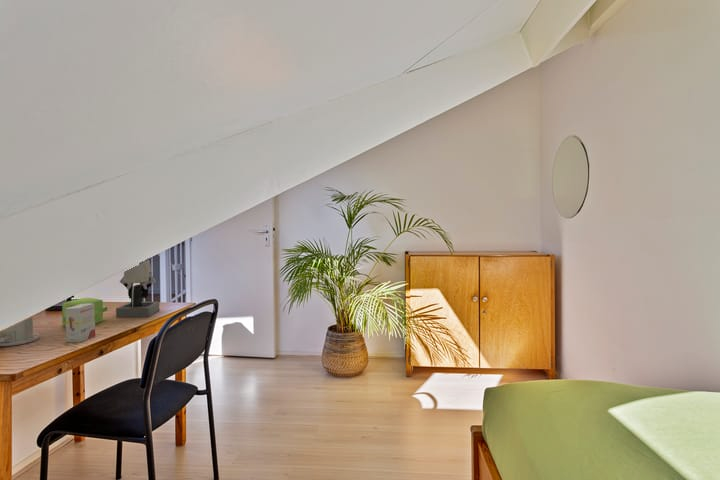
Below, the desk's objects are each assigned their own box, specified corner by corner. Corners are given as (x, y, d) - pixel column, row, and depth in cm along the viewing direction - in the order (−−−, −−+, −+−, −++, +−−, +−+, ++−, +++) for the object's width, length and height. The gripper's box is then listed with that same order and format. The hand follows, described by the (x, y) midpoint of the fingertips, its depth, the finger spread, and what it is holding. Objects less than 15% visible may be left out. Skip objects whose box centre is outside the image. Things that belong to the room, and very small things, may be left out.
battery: (139, 313, 175) (139, 286, 174) (130, 312, 175) (130, 286, 174) (146, 308, 182) (147, 283, 181) (137, 308, 182) (138, 283, 181)
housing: (148, 317, 173) (148, 307, 173) (116, 317, 171) (116, 308, 171) (159, 310, 186) (159, 301, 186) (129, 310, 184) (129, 302, 184)
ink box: (82, 335, 146) (81, 302, 145) (96, 335, 146) (95, 303, 145) (65, 342, 137) (64, 308, 137) (79, 342, 137) (78, 308, 137)
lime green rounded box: (72, 332, 150) (72, 307, 150) (51, 329, 152) (51, 305, 152) (112, 320, 168) (112, 297, 167) (92, 317, 170) (92, 295, 169)
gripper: (112, 257, 172) (113, 299, 173) (155, 257, 175) (155, 299, 176) (120, 255, 180) (121, 296, 181) (161, 256, 182) (161, 296, 183)
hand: (138, 297), depth 178 cm, fingers open, 5 cm apart
